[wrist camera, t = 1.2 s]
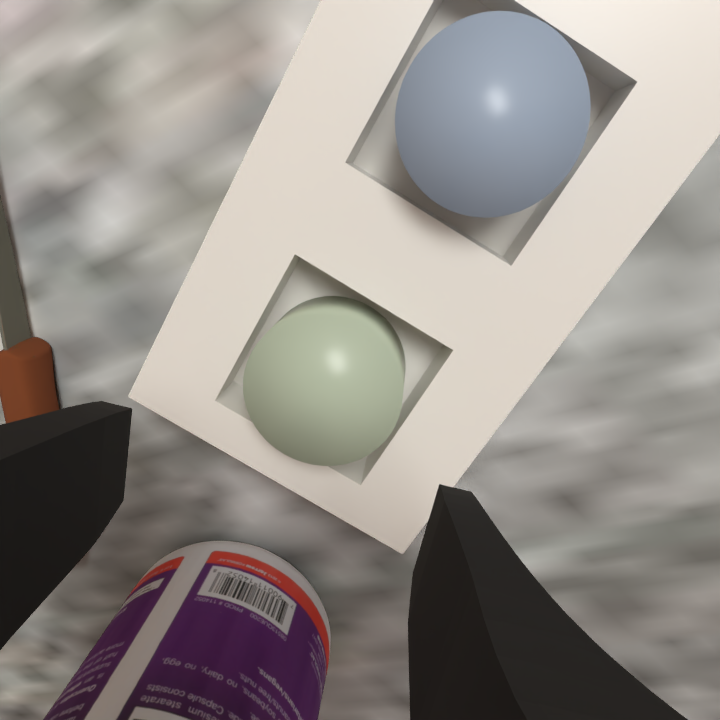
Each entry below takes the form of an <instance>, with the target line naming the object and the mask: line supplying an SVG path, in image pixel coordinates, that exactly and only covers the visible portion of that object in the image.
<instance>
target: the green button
mask: <svg viewBox="0 0 720 720" xmlns="http://www.w3.org/2000/svg"><path fill="white" fill-rule="evenodd" d="M405 371H406V363H405V355H404V350H403V347H402V344H401V341H400V339H399V337H398V335H397V333H396V331H395V330H394V328H393V327H392V325H391V324H390V323H389V322H388V321H387V319H386V318H385V317H383V316H382V315H381V314H380V313H379V312H378V311H376V310H375V309H373V308H372V307H370V306H369V305H367V304H365V303H363V302H360V301H358V300H355V299H351V298H347V297H341V296H323V297H317V298H313V299H310V300H307V301H305V302H302V303H300V304H298V305H297V306H295V307H294V308H292V309H291V310H289V311H288V312H287V313H286V314H285V315H284V316H283V317H282V318H281V319H280V320H279V321H278V322H277V323H276V324H275V325H274V326H273V327H272V328H271V329H270V330H269V331H268V332H267V333H266V334H265V335H264V336H263V337H262V338H261V340H260V341H259V342H258V343H257V344H256V346H255V347H254V349H253V350H252V352H251V354H250V356H249V358H248V361H247V364H246V367H245V370H244V377H243V394H244V401H245V405H246V408H247V411H248V414H249V416H250V418H251V420H252V422H253V424H254V426H255V427H256V429H257V430H258V431H259V433H260V434H261V435H262V436H263V437H264V438H265V440H266V441H267V442H268V443H270V444H271V445H272V446H273V447H274V448H275V449H277V450H278V451H280V452H282V453H283V454H285V455H287V456H289V457H291V458H293V459H295V460H298V461H301V462H304V463H308V464H312V465H320V466H336V465H343V464H347V463H351V462H354V461H357V460H359V459H362V458H364V457H365V456H367V455H369V454H371V453H372V452H373V451H375V450H376V449H378V448H379V447H380V446H381V445H382V444H383V443H384V442H385V441H386V439H387V438H388V437H389V436H390V434H391V433H392V431H393V429H394V428H395V426H396V424H397V421H398V419H399V416H400V412H401V408H402V399H403V390H404V380H405Z"/></svg>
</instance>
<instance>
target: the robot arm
mask: <svg viewBox="0 0 720 720" xmlns="http://www.w3.org/2000/svg"><path fill="white" fill-rule="evenodd" d="M131 415H132V409H131V408H127V407H123V406H119V405H115V404H111V403H107V402H103V401H99V402H92V403H86V404H81V405H77V406H73V407H68V408H64V409H60V410H56V411H52V412H49V413H45V414H41V415H37V416H33V417H29V418H25V419H21V420H18V421H14V422H10V423H6V424H2V425H0V650H1V649H2V647H3V646H4V645H5V644H6V643H7V641H8V640H9V639H10V638H11V637H12V635H13V634H14V633H15V632H16V631H17V630H18V629H19V628H20V627H21V625H22V624H23V623H24V622H25V621H26V620H27V619H28V618H29V617H30V615H31V614H32V613H33V612H34V611H35V610H36V609H37V608H38V607H39V605H40V604H41V603H42V602H43V601H44V600H45V599H46V598H47V597H48V595H49V594H50V593H51V592H52V591H53V590H54V589H55V588H56V587H57V585H58V584H59V583H60V582H61V581H62V580H63V579H64V578H65V577H66V575H67V574H68V573H69V572H70V571H71V570H72V569H73V567H74V566H75V565H76V564H77V563H78V562H79V561H80V560H81V558H82V557H83V556H84V555H85V554H86V553H87V552H88V550H89V549H90V548H91V547H92V546H93V545H94V543H95V542H96V541H97V539H98V538H99V536H100V535H101V534H102V532H103V531H104V529H105V528H106V526H107V525H108V523H109V522H110V520H111V519H112V517H113V516H114V514H115V513H116V511H117V509H118V508H119V506H120V505H121V503H122V502H123V499H124V489H125V478H126V468H127V457H128V447H129V436H130V426H131ZM408 643H409V684H410V720H688V719H686V718H685V717H683V716H682V715H681V714H679V713H678V712H677V711H676V710H674V709H673V708H672V707H670V706H669V705H668V704H667V703H665V702H664V701H663V700H661V699H660V698H659V697H658V696H656V695H655V694H654V693H653V692H651V691H650V690H649V689H648V688H647V687H645V686H644V685H643V684H642V683H641V682H639V681H638V680H637V679H636V678H635V677H634V676H632V675H631V674H630V673H629V672H628V671H627V670H625V669H624V668H623V667H622V666H621V665H620V664H618V663H617V662H616V661H615V660H614V659H613V658H612V657H610V656H609V655H608V654H607V653H606V652H605V651H604V650H603V649H602V648H601V647H599V646H598V645H597V644H596V643H595V642H594V641H593V640H592V639H591V638H590V637H589V636H588V635H587V634H586V633H585V632H584V631H583V630H582V629H581V628H580V627H579V626H578V625H577V624H576V623H575V622H574V621H573V620H572V619H571V618H570V617H569V616H568V615H567V614H566V613H565V612H564V611H563V610H562V608H561V607H560V606H559V605H558V604H557V603H556V602H555V601H554V600H553V599H552V597H551V596H550V595H549V594H548V593H547V592H546V590H545V589H544V588H543V587H542V586H541V585H540V583H539V582H538V581H537V580H536V579H535V578H534V576H533V575H532V574H531V573H530V571H529V570H528V569H527V568H526V566H525V565H524V564H523V563H522V561H521V560H520V559H519V557H518V556H517V555H516V554H515V552H514V551H513V550H512V548H511V547H510V545H509V544H508V543H507V541H506V540H505V539H504V537H503V536H502V534H501V533H500V532H499V530H498V529H497V527H496V526H495V525H494V523H493V522H492V520H491V519H490V517H489V516H488V515H487V513H486V512H485V510H484V509H483V507H482V506H481V504H480V503H479V502H478V500H477V499H476V497H475V496H474V495H473V493H472V492H470V491H466V490H462V489H457V488H453V487H449V486H445V485H441V484H439V487H438V490H437V493H436V497H435V500H434V504H433V507H432V510H431V514H430V517H429V521H428V524H427V527H426V531H425V534H424V537H423V541H422V544H421V548H420V551H419V554H418V558H417V561H416V565H415V568H414V571H413V578H412V587H411V597H410V607H409V618H408Z"/></svg>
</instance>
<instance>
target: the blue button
mask: <svg viewBox="0 0 720 720" xmlns="http://www.w3.org/2000/svg"><path fill="white" fill-rule="evenodd" d="M590 108H591V104H590V91H589V86H588V81H587V77H586V74H585V72H584V69H583V66H582V64H581V62H580V60H579V58H578V56H577V54H576V53H575V51H574V50H573V48H572V47H571V46H570V44H569V43H568V42H567V41H566V40H565V39H564V38H563V37H562V35H561V34H560V33H558V32H557V31H556V30H555V29H553V28H552V27H551V26H549V25H548V24H546V23H544V22H542V21H541V20H539V19H537V18H534V17H531V16H529V15H526V14H522V13H517V12H512V11H489V12H482V13H478V14H474V15H471V16H468V17H465V18H463V19H460V20H458V21H456V22H454V23H453V24H451V25H449V26H447V27H446V28H444V29H443V30H442V31H440V32H439V33H438V34H436V35H435V36H434V37H433V38H432V39H431V40H430V41H429V42H428V43H427V44H426V45H425V46H424V47H423V48H422V49H421V51H420V52H419V53H418V54H417V56H416V57H415V59H414V60H413V62H412V63H411V65H410V67H409V68H408V71H407V73H406V75H405V77H404V79H403V82H402V85H401V88H400V91H399V94H398V99H397V104H396V112H395V133H396V140H397V146H398V149H399V152H400V156H401V159H402V161H403V163H404V166H405V168H406V170H407V172H408V173H409V175H410V177H411V178H412V180H413V181H414V182H415V184H416V185H417V186H418V187H419V189H420V190H421V191H422V192H424V193H425V194H426V195H427V196H428V197H429V198H430V199H432V200H433V201H434V202H436V203H437V204H438V205H440V206H442V207H444V208H446V209H448V210H450V211H453V212H456V213H458V214H462V215H466V216H471V217H481V218H489V217H500V216H505V215H510V214H513V213H516V212H519V211H522V210H524V209H526V208H528V207H530V206H532V205H534V204H535V203H537V202H539V201H540V200H542V199H543V198H545V197H546V196H547V195H548V194H550V193H551V192H552V191H553V190H554V189H555V188H556V187H557V186H558V185H559V184H560V183H561V182H562V181H563V180H564V178H565V177H566V176H567V175H568V173H569V172H570V171H571V169H572V167H573V166H574V164H575V162H576V161H577V159H578V157H579V155H580V152H581V150H582V148H583V146H584V142H585V139H586V136H587V132H588V127H589V121H590Z"/></svg>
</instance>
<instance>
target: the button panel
mask: <svg viewBox="0 0 720 720" xmlns="http://www.w3.org/2000/svg"><path fill="white" fill-rule="evenodd" d="M489 11H512V12H517V13H522V14H526V15H529V16H531V17H534V18H537V19H539V20H541V21H542V22H544V23H546V24H548V25H549V26H551V27H552V28H553V29H555V30H556V31H557V32H558V33H560V34H561V35H562V37H563V38H564V39H565V40H566V41H567V42H568V43H569V44H570V46H571V47H572V48H573V50H574V51H575V53H576V54H577V56H578V58H579V60H580V62H581V64H582V66H583V69H584V72H585V74H586V77H587V81H588V86H589V91H590V104H591V108H590V121H589V127H588V132H587V136H586V139H585V142H584V146H583V148H582V150H581V152H580V155H579V157H578V159H577V161H576V162H575V164H574V166H573V167H572V169H571V171H570V172H569V173H568V175H567V176H566V177H565V178H564V180H563V181H562V182H561V183H560V184H559V185H558V186H557V187H556V188H555V189H554V190H553V191H552V192H551V193H550V194H548V195H547V196H546V197H545V198H543V199H542V200H540V201H539V202H537V203H535V204H534V205H532V206H530V207H528V208H526V209H524V210H522V211H519V212H516V213H513V214H510V215H505V216H500V217H489V218H481V217H471V216H466V215H462V214H458V213H456V212H453V211H450V210H448V209H446V208H444V207H442V206H440V205H438V204H437V203H436V202H434V201H433V200H432V199H430V198H429V197H428V196H427V195H426V194H425V193H424V192H422V191H421V190H420V189H419V187H418V186H417V185H416V184H415V182H414V181H413V180H412V178H411V177H410V175H409V173H408V172H407V170H406V168H405V166H404V163H403V161H402V159H401V156H400V152H399V149H398V146H397V140H396V133H395V112H396V104H397V99H398V94H399V91H400V88H401V85H402V82H403V79H404V77H405V75H406V73H407V71H408V68H409V67H410V65H411V63H412V62H413V60H414V59H415V57H416V56H417V54H418V53H419V52H420V51H421V49H422V48H423V47H424V46H425V45H426V44H427V43H428V42H429V41H430V40H431V39H432V38H433V37H434V36H435V35H436V34H438V33H439V32H440V31H442V30H443V29H444V28H446V27H447V26H449V25H451V24H453V23H454V22H456V21H458V20H460V19H463V18H465V17H468V16H471V15H474V14H478V13H482V12H489ZM719 134H720V0H321V1H320V3H319V5H318V7H317V9H316V11H315V13H314V15H313V17H312V19H311V21H310V23H309V25H308V27H307V29H306V31H305V34H304V36H303V38H302V40H301V42H300V44H299V46H298V48H297V50H296V52H295V54H294V56H293V58H292V60H291V62H290V64H289V66H288V69H287V71H286V73H285V75H284V77H283V79H282V81H281V83H280V85H279V87H278V89H277V91H276V93H275V95H274V97H273V99H272V101H271V103H270V106H269V108H268V110H267V112H266V114H265V116H264V118H263V120H262V122H261V124H260V126H259V128H258V130H257V132H256V134H255V136H254V138H253V140H252V143H251V145H250V147H249V149H248V151H247V153H246V155H245V157H244V159H243V161H242V163H241V165H240V167H239V169H238V171H237V173H236V175H235V178H234V180H233V182H232V184H231V186H230V188H229V190H228V192H227V194H226V196H225V198H224V200H223V202H222V204H221V206H220V208H219V210H218V212H217V215H216V217H215V219H214V221H213V223H212V225H211V227H210V229H209V231H208V233H207V235H206V237H205V239H204V241H203V243H202V245H201V247H200V249H199V252H198V254H197V256H196V258H195V260H194V262H193V264H192V266H191V268H190V270H189V272H188V274H187V276H186V278H185V280H184V282H183V284H182V287H181V289H180V291H179V293H178V295H177V297H176V299H175V301H174V303H173V305H172V307H171V309H170V311H169V313H168V315H167V317H166V319H165V321H164V324H163V326H162V328H161V330H160V332H159V334H158V336H157V338H156V340H155V342H154V344H153V346H152V348H151V350H150V352H149V354H148V356H147V358H146V361H145V363H144V365H143V367H142V369H141V371H140V373H139V375H138V377H137V379H136V381H135V383H134V385H133V387H132V389H131V391H130V393H129V396H128V397H129V398H131V399H133V400H135V401H136V402H138V403H140V404H142V405H143V406H145V407H147V408H149V409H150V410H152V411H154V412H156V413H157V414H159V415H161V416H162V417H164V418H166V419H168V420H169V421H171V422H173V423H175V424H176V425H178V426H180V427H182V428H183V429H185V430H187V431H189V432H190V433H192V434H194V435H196V436H197V437H199V438H201V439H203V440H204V441H206V442H208V443H210V444H211V445H213V446H215V447H216V448H218V449H220V450H222V451H223V452H225V453H227V454H229V455H230V456H232V457H234V458H236V459H237V460H239V461H241V462H243V463H244V464H246V465H248V466H250V467H251V468H253V469H255V470H257V471H258V472H260V473H262V474H264V475H265V476H267V477H269V478H270V479H272V480H274V481H276V482H277V483H279V484H281V485H283V486H284V487H286V488H288V489H290V490H291V491H293V492H295V493H297V494H298V495H300V496H302V497H304V498H305V499H307V500H309V501H311V502H312V503H314V504H316V505H318V506H319V507H321V508H323V509H324V510H326V511H328V512H330V513H331V514H333V515H335V516H337V517H338V518H340V519H342V520H344V521H345V522H347V523H349V524H351V525H352V526H354V527H356V528H358V529H359V530H361V531H363V532H365V533H366V534H368V535H370V536H372V537H373V538H375V539H377V540H378V541H380V542H382V543H384V544H385V545H387V546H389V547H391V548H392V549H394V550H396V551H398V552H399V553H401V554H403V553H404V552H405V551H406V549H407V548H408V547H409V545H410V544H411V543H412V541H413V540H414V539H415V537H416V536H417V535H418V533H419V532H420V531H421V529H422V528H423V527H424V525H425V524H426V523H427V521H428V520H429V517H430V514H431V510H432V507H433V504H434V500H435V497H436V493H437V490H438V487H439V484H441V485H445V486H449V487H454V486H455V484H456V483H457V482H458V480H459V479H460V478H461V476H462V475H463V474H464V472H465V471H466V470H467V468H468V467H469V466H470V464H471V463H472V462H473V460H474V459H475V458H476V456H477V455H478V454H479V452H480V451H481V450H482V448H483V447H484V446H485V445H486V443H487V442H488V441H489V439H490V438H491V437H492V435H493V434H494V433H495V431H496V430H497V429H498V427H499V426H500V425H501V423H502V422H503V421H504V419H505V418H506V417H507V415H508V414H509V413H510V411H511V410H512V409H513V407H514V406H515V405H516V403H517V402H518V401H519V399H520V398H521V397H522V395H523V394H524V393H525V391H526V390H527V389H528V388H529V386H530V385H531V384H532V382H533V381H534V380H535V378H536V377H537V376H538V374H539V373H540V372H541V370H542V369H543V368H544V366H545V365H546V364H547V362H548V361H549V360H550V358H551V357H552V356H553V354H554V353H555V352H556V350H557V349H558V348H559V346H560V345H561V344H562V342H563V341H564V340H565V338H566V337H567V336H568V335H569V333H570V332H571V331H572V329H573V328H574V327H575V325H576V324H577V323H578V321H579V320H580V319H581V317H582V316H583V315H584V313H585V312H586V311H587V309H588V308H589V307H590V305H591V304H592V303H593V301H594V300H595V299H596V297H597V296H598V295H599V293H600V292H601V291H602V289H603V288H604V287H605V285H606V284H607V283H608V281H609V280H610V279H611V278H612V276H613V275H614V274H615V272H616V271H617V270H618V268H619V267H620V266H621V264H622V263H623V262H624V260H625V259H626V258H627V256H628V255H629V254H630V252H631V251H632V250H633V248H634V247H635V246H636V244H637V243H638V242H639V240H640V239H641V238H642V236H643V235H644V234H645V232H646V231H647V230H648V228H649V227H650V226H651V225H652V223H653V222H654V221H655V219H656V218H657V217H658V215H659V214H660V213H661V211H662V210H663V209H664V207H665V206H666V205H667V203H668V202H669V201H670V199H671V198H672V197H673V195H674V194H675V193H676V191H677V190H678V189H679V187H680V186H681V185H682V183H683V182H684V181H685V179H686V178H687V177H688V175H689V174H690V173H691V171H692V170H693V169H694V168H695V166H696V165H697V164H698V162H699V161H700V160H701V158H702V157H703V156H704V154H705V153H706V152H707V150H708V149H709V148H710V146H711V145H712V144H713V142H714V141H715V140H716V138H717V137H718V136H719ZM323 296H341V297H347V298H351V299H355V300H358V301H360V302H363V303H365V304H367V305H369V306H370V307H372V308H373V309H375V310H376V311H378V312H379V313H380V314H381V315H382V316H383V317H385V318H386V319H387V321H388V322H389V323H390V324H391V325H392V327H393V328H394V330H395V331H396V333H397V335H398V337H399V339H400V341H401V344H402V347H403V350H404V355H405V363H406V371H405V380H404V390H403V399H402V408H401V412H400V416H399V419H398V421H397V424H396V426H395V428H394V429H393V431H392V433H391V434H390V436H389V437H388V438H387V439H386V441H385V442H384V443H383V444H382V445H381V446H380V447H379V448H378V449H376V450H375V451H373V452H372V453H371V454H369V455H367V456H365V457H364V458H362V459H359V460H357V461H354V462H351V463H347V464H343V465H336V466H320V465H312V464H308V463H304V462H301V461H298V460H295V459H293V458H291V457H289V456H287V455H285V454H283V453H282V452H280V451H278V450H277V449H275V448H274V447H273V446H272V445H271V444H270V443H268V442H267V441H266V440H265V438H264V437H263V436H262V435H261V434H260V433H259V431H258V430H257V429H256V427H255V426H254V424H253V422H252V420H251V418H250V416H249V414H248V411H247V408H246V405H245V401H244V394H243V377H244V370H245V367H246V364H247V361H248V358H249V356H250V354H251V352H252V350H253V349H254V347H255V346H256V344H257V343H258V342H259V341H260V340H261V338H262V337H263V336H264V335H265V334H266V333H267V332H268V331H269V330H270V329H271V328H272V327H273V326H274V325H275V324H276V323H277V322H278V321H279V320H280V319H281V318H282V317H283V316H284V315H285V314H286V313H287V312H288V311H289V310H291V309H292V308H294V307H295V306H297V305H298V304H300V303H302V302H305V301H307V300H310V299H313V298H317V297H323Z"/></svg>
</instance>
